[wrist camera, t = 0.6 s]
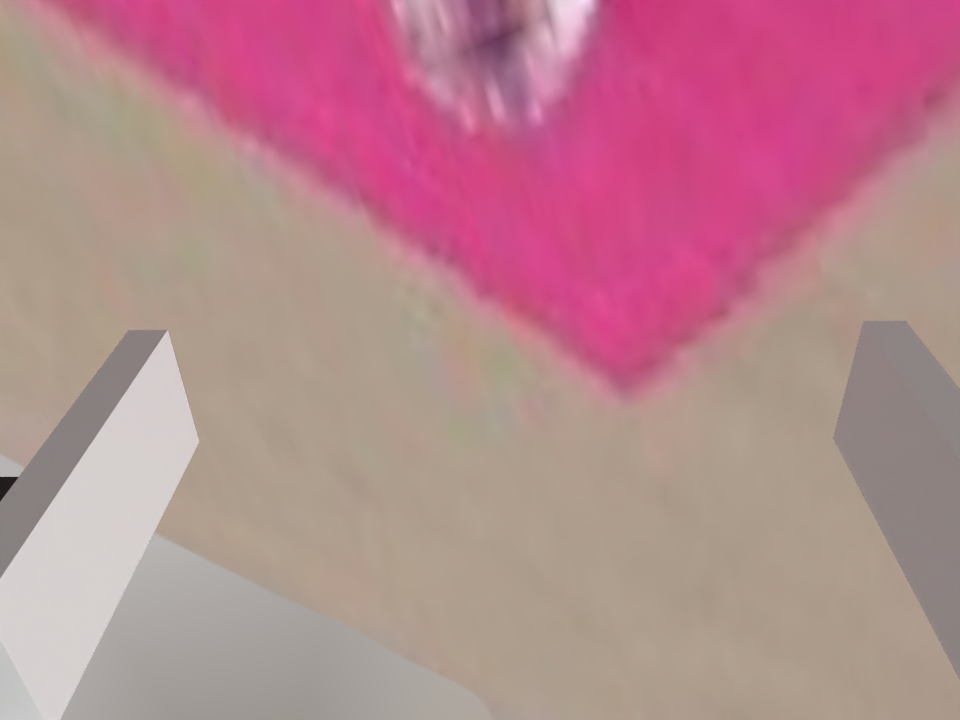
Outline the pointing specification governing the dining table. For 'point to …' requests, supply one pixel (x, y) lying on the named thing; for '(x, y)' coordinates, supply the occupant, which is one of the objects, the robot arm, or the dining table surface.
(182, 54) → the dining table surface
